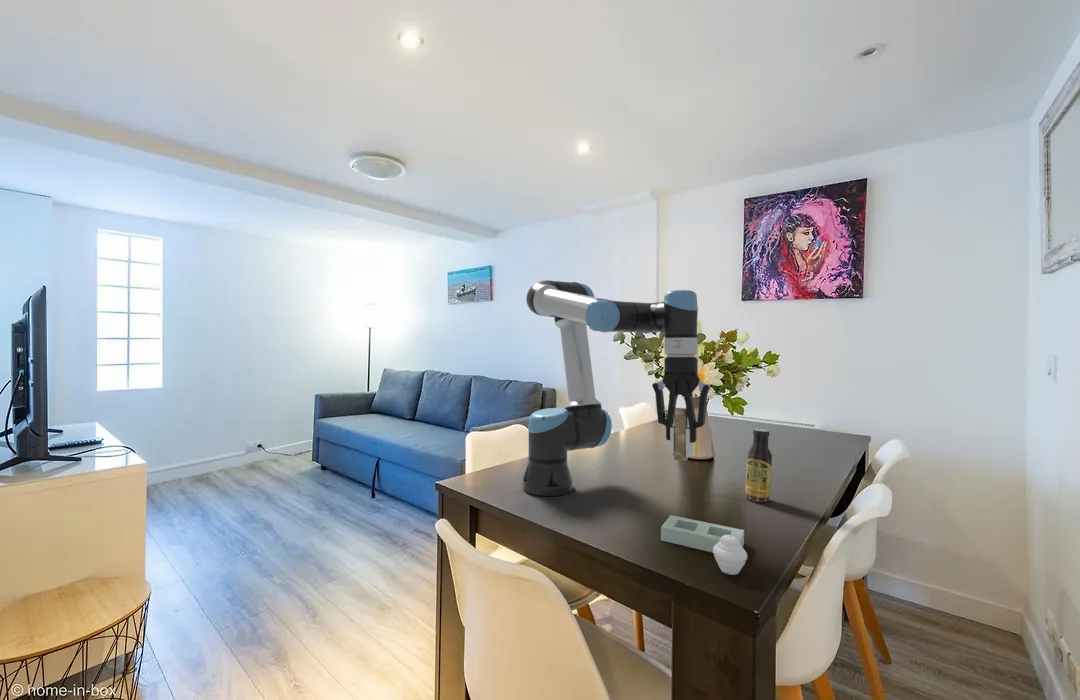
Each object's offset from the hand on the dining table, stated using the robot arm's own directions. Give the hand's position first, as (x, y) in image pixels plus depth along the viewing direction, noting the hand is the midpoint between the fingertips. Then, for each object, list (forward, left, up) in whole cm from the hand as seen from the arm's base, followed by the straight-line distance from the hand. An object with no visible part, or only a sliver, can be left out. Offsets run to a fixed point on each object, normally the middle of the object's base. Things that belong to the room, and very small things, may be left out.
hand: (681, 454), depth 106 cm
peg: (0, 0, -1) cm, 1 cm away
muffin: (+13, -15, -18) cm, 27 cm away
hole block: (+6, -5, -17) cm, 19 cm away
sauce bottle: (+14, +31, -18) cm, 38 cm away
